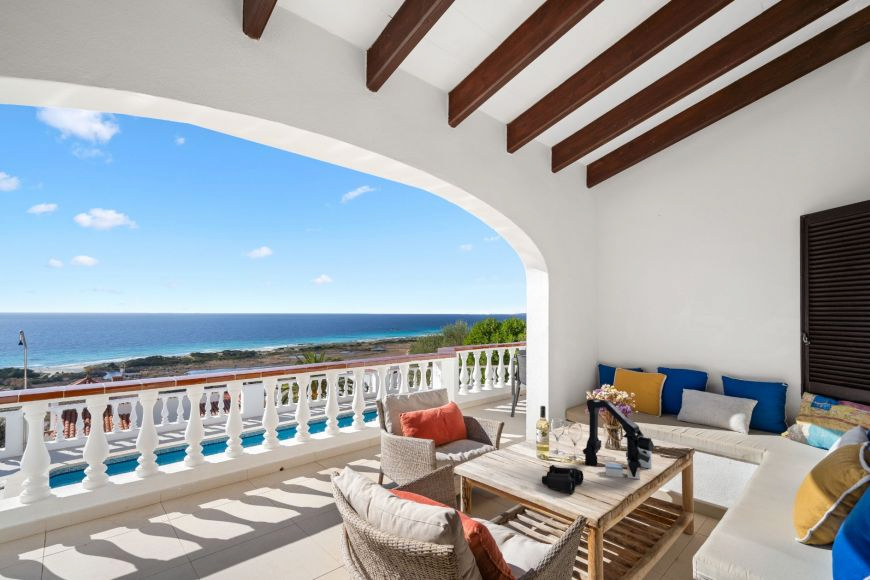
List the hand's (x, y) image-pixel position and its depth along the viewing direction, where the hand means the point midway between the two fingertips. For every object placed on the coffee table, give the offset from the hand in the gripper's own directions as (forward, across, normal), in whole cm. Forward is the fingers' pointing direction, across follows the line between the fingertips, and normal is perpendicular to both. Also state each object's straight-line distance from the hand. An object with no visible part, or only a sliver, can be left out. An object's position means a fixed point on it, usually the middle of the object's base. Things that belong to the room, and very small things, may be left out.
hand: (633, 474), depth 229 cm
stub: (+1, 0, 0) cm, 1 cm away
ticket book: (+1, 0, +10) cm, 10 cm away
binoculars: (+2, -24, +37) cm, 44 cm away
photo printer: (+1, +19, -6) cm, 20 cm away
